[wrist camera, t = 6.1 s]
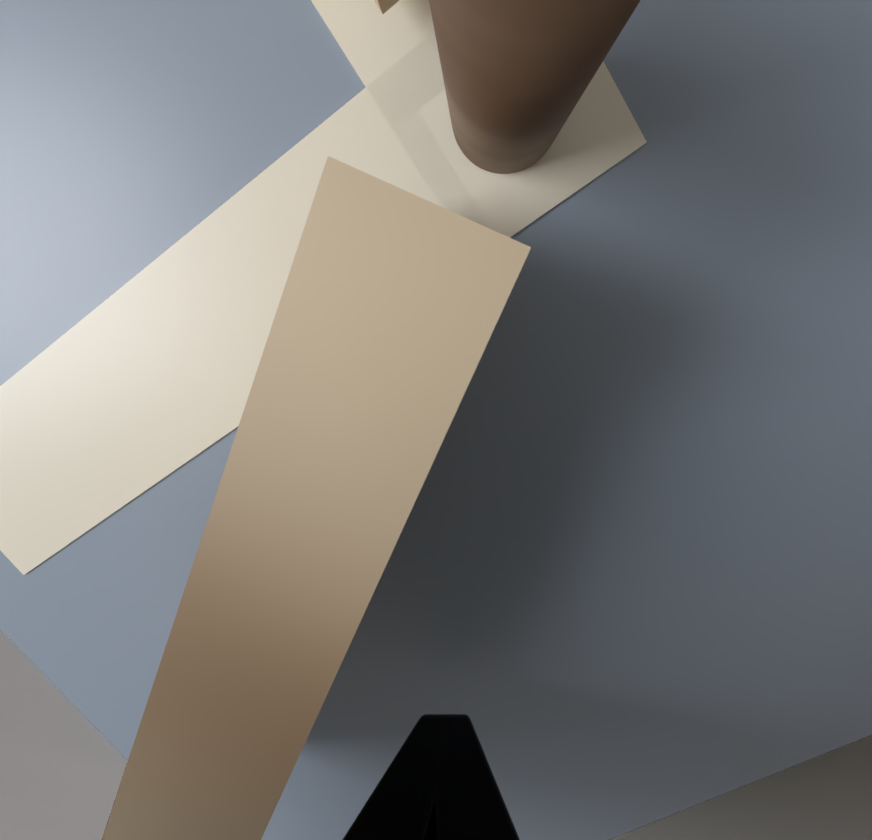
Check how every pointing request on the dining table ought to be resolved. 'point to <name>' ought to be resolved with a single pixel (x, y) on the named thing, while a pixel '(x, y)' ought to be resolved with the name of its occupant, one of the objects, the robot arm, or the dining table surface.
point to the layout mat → (485, 395)
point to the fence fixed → (518, 70)
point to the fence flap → (311, 499)
